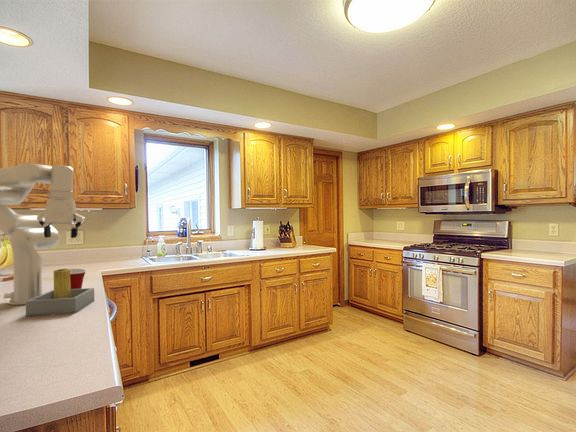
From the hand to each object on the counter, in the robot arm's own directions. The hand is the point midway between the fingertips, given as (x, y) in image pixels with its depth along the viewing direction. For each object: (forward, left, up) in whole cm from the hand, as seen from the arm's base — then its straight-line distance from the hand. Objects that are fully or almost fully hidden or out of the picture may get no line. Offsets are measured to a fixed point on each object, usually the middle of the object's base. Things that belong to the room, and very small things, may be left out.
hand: (60, 237), depth 129 cm
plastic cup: (-2, +15, -28) cm, 32 cm away
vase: (+3, -6, -27) cm, 28 cm away
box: (+3, -6, -28) cm, 28 cm away
